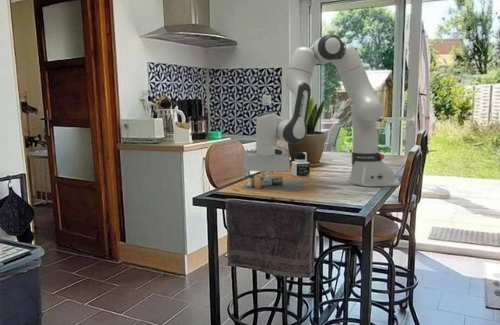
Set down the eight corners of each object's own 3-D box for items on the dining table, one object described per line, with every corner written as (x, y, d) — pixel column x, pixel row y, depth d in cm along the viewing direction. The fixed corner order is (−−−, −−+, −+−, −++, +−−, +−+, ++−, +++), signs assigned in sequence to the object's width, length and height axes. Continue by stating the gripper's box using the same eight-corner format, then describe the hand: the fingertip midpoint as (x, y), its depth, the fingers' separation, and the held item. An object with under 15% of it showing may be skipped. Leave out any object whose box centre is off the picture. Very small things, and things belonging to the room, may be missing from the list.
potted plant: (327, 168, 237) (328, 95, 231) (288, 168, 238) (288, 96, 232) (322, 162, 258) (322, 95, 252) (286, 162, 259) (286, 96, 252)
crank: (278, 182, 196) (278, 170, 195) (285, 184, 191) (285, 172, 190) (245, 185, 189) (245, 174, 189) (251, 188, 184) (251, 176, 183)
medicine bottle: (296, 177, 213) (296, 153, 211) (291, 175, 220) (291, 151, 218) (309, 176, 215) (310, 152, 213) (304, 174, 221) (304, 151, 220)
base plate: (303, 182, 200) (303, 169, 199) (302, 192, 181) (302, 178, 180) (248, 181, 204) (248, 169, 203) (241, 191, 185) (241, 177, 184)
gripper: (241, 150, 184) (241, 181, 186) (288, 151, 179) (288, 183, 181) (245, 148, 190) (245, 178, 192) (290, 149, 185) (290, 180, 187)
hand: (266, 181), depth 186 cm, fingers closed
